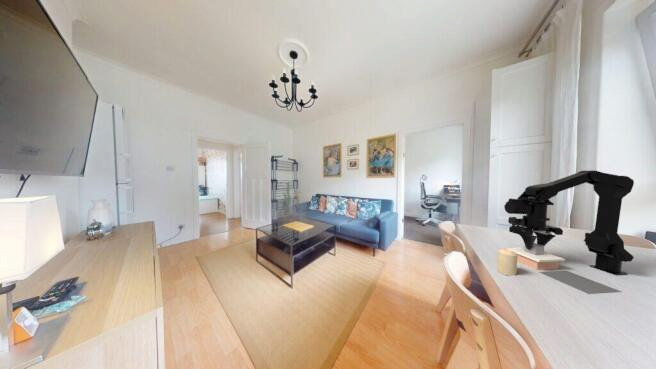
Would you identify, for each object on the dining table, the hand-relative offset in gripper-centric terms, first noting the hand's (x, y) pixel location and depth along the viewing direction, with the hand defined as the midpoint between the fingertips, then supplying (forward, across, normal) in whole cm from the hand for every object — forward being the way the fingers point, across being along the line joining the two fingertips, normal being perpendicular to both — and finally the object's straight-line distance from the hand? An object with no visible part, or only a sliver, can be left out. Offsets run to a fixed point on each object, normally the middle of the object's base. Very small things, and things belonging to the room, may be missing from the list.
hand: (533, 249), depth 77 cm
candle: (+7, +19, +5) cm, 21 cm away
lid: (+3, 0, 0) cm, 3 cm away
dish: (+7, 0, 0) cm, 7 cm away
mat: (+7, 0, +13) cm, 15 cm away
